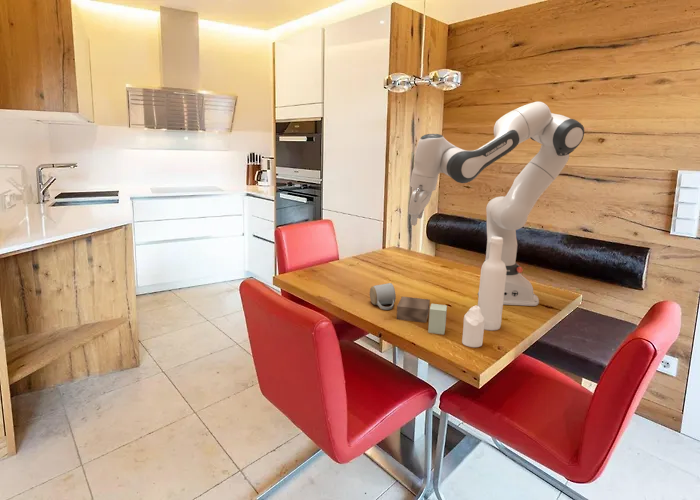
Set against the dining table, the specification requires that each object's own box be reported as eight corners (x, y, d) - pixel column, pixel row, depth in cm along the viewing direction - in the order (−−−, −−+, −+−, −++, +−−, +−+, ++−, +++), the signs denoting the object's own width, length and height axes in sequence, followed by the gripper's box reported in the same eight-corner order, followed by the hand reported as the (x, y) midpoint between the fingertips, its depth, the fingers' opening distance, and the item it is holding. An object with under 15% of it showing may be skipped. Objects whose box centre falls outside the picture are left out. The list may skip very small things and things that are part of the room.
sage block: (445, 328, 139) (447, 305, 137) (444, 334, 134) (445, 311, 133) (429, 326, 140) (431, 303, 139) (428, 332, 136) (429, 309, 134)
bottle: (479, 330, 138) (488, 240, 131) (472, 320, 145) (480, 234, 138) (504, 331, 138) (514, 240, 131) (496, 321, 145) (505, 235, 138)
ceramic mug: (368, 301, 162) (368, 282, 160) (388, 299, 164) (389, 280, 162) (377, 312, 152) (378, 291, 150) (399, 309, 154) (400, 289, 152)
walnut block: (428, 312, 153) (429, 299, 151) (426, 323, 143) (427, 309, 142) (401, 309, 155) (401, 296, 154) (396, 319, 146) (397, 306, 145)
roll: (465, 308, 124) (464, 301, 129) (462, 346, 127) (461, 338, 132) (486, 310, 123) (485, 303, 128) (483, 348, 126) (481, 340, 131)
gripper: (427, 190, 135) (419, 231, 140) (437, 179, 153) (430, 216, 158) (407, 186, 137) (400, 227, 142) (420, 176, 155) (413, 212, 160)
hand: (416, 221), depth 150 cm, fingers open, 8 cm apart
